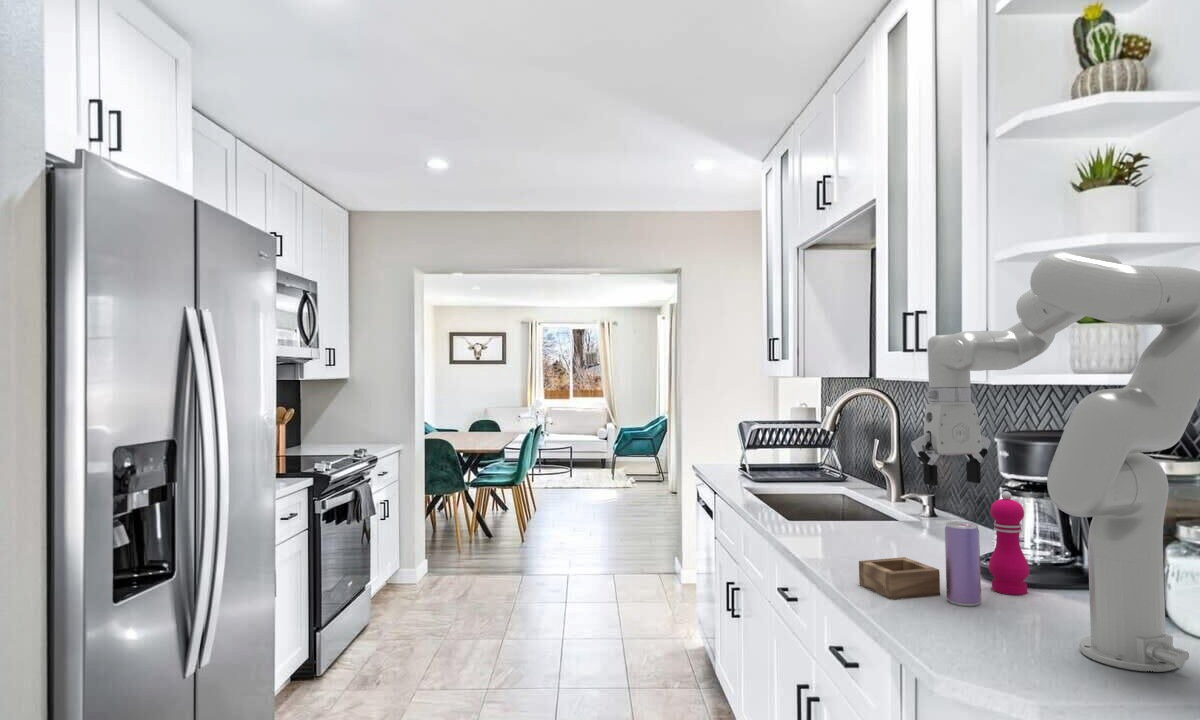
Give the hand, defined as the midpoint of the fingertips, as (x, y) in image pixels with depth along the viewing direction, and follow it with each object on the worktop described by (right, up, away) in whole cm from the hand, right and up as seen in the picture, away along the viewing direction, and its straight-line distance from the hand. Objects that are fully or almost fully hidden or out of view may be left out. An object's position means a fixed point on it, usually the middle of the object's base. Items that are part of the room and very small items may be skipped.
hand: (952, 483), depth 149 cm
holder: (-9, -23, +5) cm, 25 cm away
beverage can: (0, -22, -4) cm, 23 cm away
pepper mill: (+13, -22, +3) cm, 26 cm away
